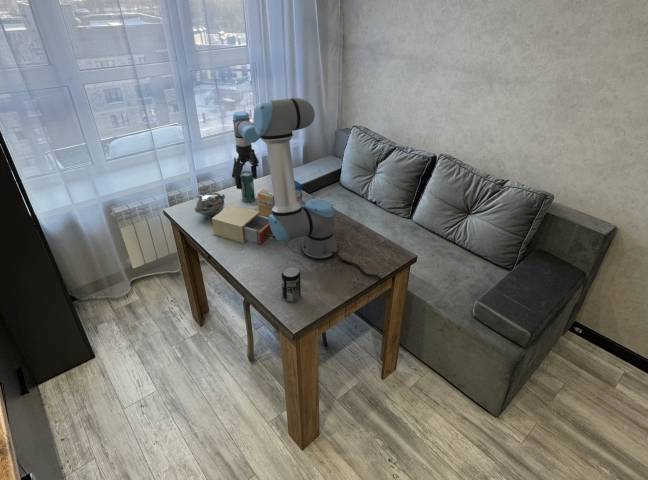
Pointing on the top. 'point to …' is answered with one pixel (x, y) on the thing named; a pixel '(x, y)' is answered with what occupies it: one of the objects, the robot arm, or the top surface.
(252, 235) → the drawer
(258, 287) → the top surface
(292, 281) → the beverage can
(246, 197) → the can
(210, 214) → the piggy bank
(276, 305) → the top surface
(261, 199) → the supplement box
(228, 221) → the beige cardboard box
